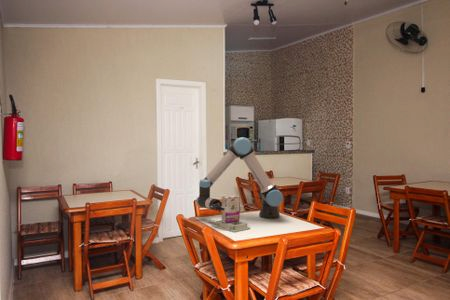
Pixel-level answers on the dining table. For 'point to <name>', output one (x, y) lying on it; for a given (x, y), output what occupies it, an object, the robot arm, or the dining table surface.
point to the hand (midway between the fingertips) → (235, 209)
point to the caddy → (232, 226)
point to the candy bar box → (231, 209)
